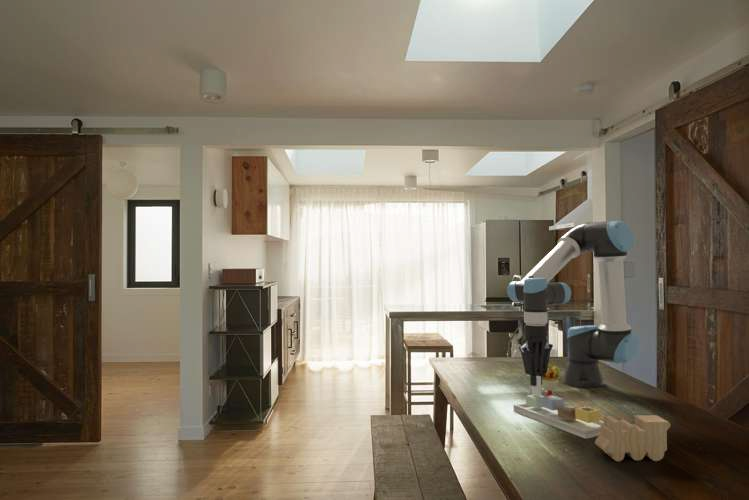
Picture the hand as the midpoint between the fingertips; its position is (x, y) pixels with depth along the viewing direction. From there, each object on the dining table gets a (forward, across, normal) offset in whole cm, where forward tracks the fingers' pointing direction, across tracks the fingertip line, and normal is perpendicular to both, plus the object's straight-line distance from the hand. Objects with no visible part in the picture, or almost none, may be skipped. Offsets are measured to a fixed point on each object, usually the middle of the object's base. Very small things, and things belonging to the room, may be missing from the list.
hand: (536, 395), depth 174 cm
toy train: (+6, +6, +40) cm, 41 cm away
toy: (+6, -13, -7) cm, 16 cm away
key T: (+4, 0, +14) cm, 14 cm away
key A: (+2, 0, +21) cm, 21 cm away
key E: (+3, 0, 0) cm, 3 cm away
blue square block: (+2, 0, +7) cm, 7 cm away
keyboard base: (+6, 0, +10) cm, 12 cm away
